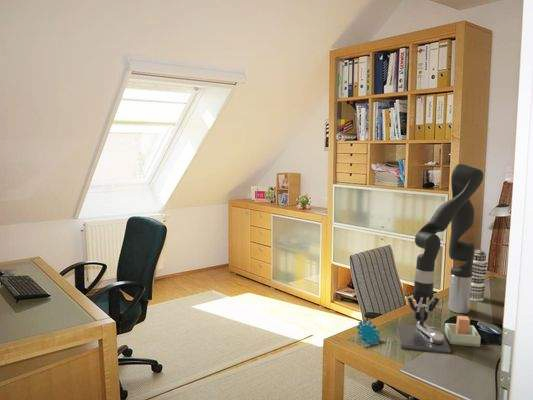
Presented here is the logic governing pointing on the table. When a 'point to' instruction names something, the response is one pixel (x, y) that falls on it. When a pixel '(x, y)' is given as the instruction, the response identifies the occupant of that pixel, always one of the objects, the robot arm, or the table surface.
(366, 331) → the gear
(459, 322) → the block
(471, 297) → the decorative candle
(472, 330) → the tray
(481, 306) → the table surface
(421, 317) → the crank
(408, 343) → the base plate
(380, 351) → the table surface
